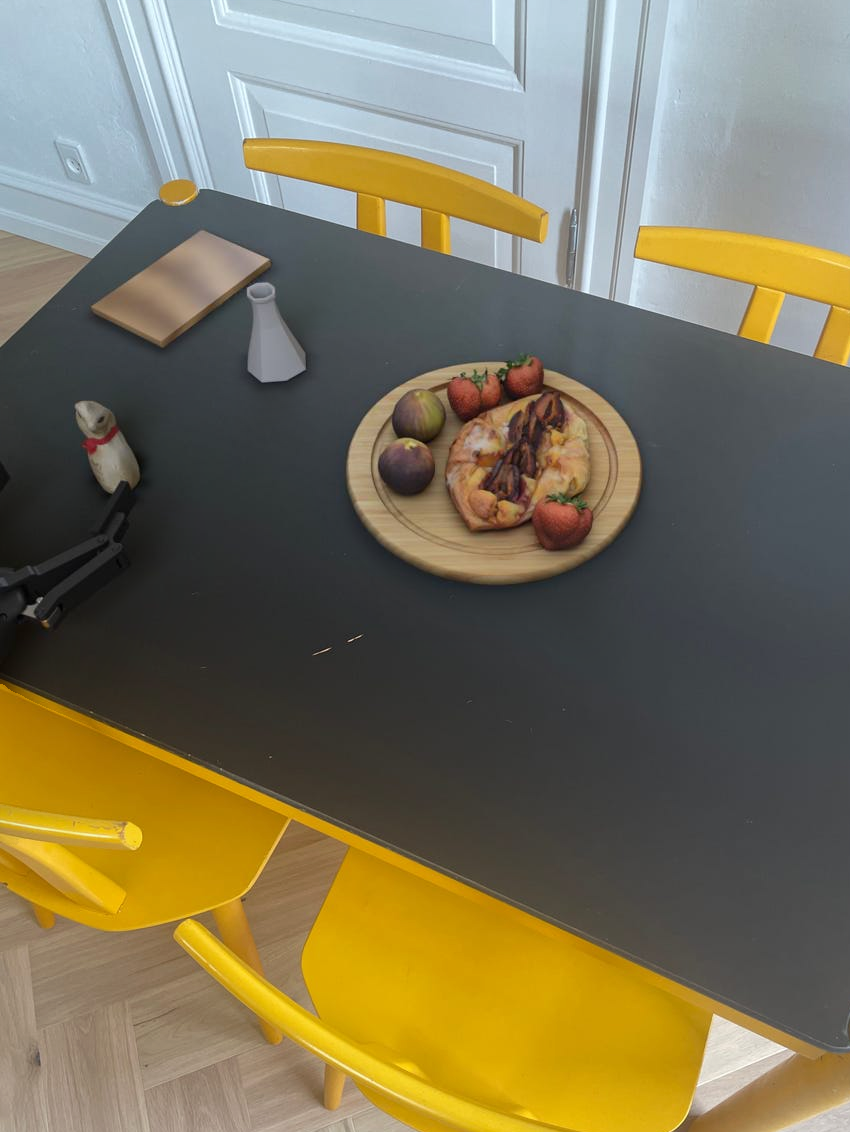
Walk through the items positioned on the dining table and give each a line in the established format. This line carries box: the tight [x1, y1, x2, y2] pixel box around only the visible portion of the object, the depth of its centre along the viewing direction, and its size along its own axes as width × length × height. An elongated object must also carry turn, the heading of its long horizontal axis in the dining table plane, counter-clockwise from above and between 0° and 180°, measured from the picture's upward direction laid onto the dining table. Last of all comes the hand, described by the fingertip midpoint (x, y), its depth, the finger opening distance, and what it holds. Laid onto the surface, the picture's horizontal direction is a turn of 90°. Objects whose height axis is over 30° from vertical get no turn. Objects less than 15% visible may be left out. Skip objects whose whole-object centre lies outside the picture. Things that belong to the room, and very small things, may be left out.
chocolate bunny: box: [74, 400, 141, 495], centre depth 92 cm, size 6×8×10 cm
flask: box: [246, 281, 307, 383], centre depth 102 cm, size 7×7×10 cm
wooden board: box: [90, 229, 272, 348], centre depth 114 cm, size 20×12×1 cm, turn 147°
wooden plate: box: [345, 351, 644, 586], centre depth 93 cm, size 32×32×8 cm
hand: (64, 478), depth 88 cm, fingers open, 13 cm apart
